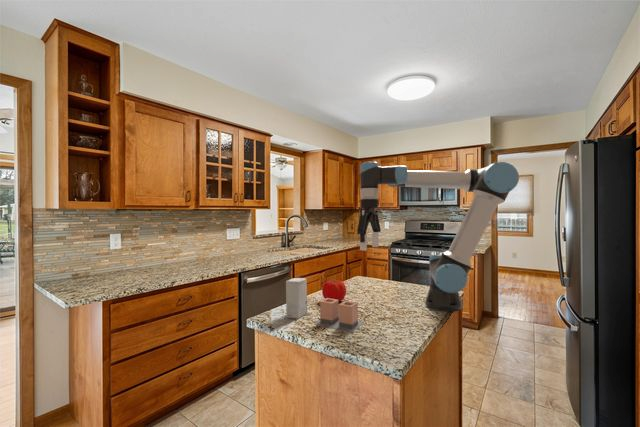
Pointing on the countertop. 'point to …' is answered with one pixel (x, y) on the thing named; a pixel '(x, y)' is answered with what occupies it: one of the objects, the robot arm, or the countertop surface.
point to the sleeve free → (329, 311)
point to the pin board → (336, 326)
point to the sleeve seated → (348, 314)
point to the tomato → (334, 290)
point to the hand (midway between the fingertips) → (369, 248)
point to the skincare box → (296, 297)
